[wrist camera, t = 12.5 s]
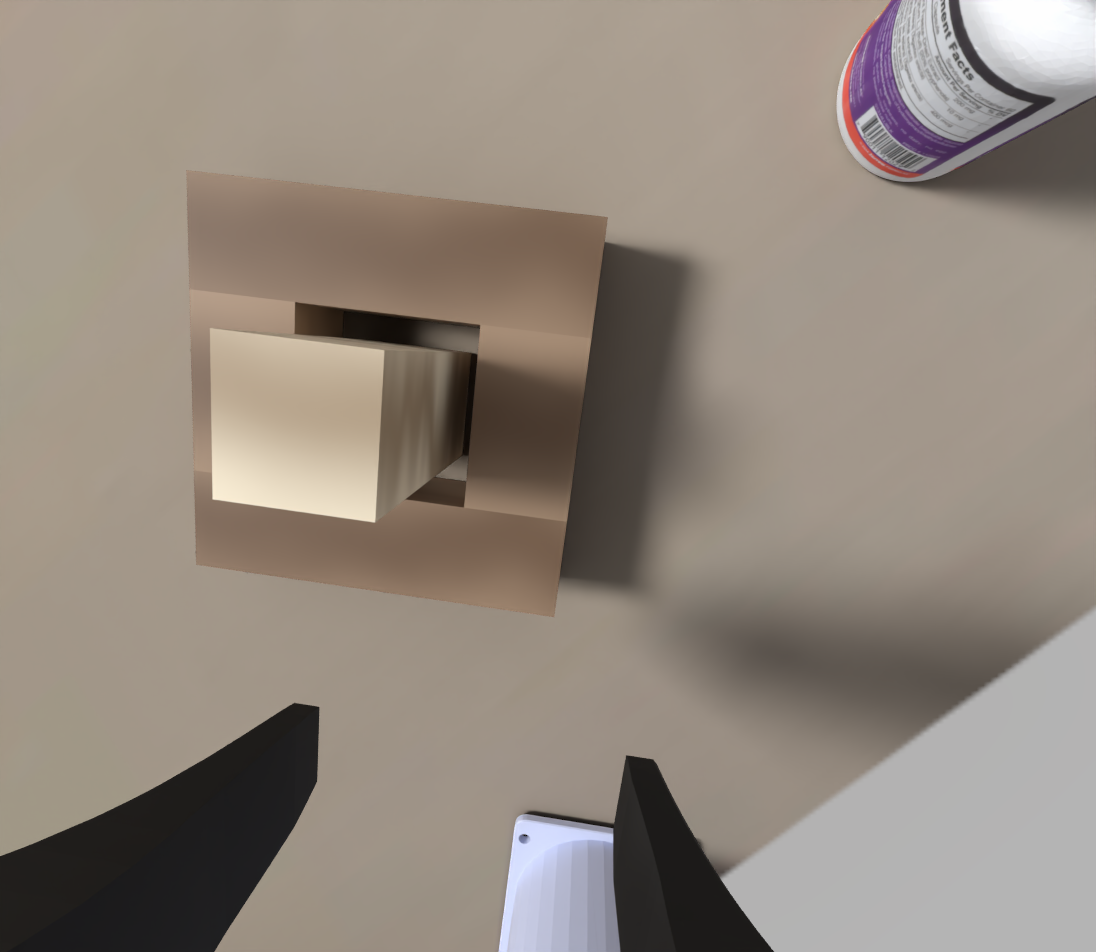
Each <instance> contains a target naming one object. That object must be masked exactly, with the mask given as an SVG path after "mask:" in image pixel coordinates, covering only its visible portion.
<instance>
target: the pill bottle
mask: <svg viewBox="0 0 1096 952" xmlns="http://www.w3.org/2000/svg"><path fill="white" fill-rule="evenodd" d="M1094 98H1096V0H891V1H890V3H889V4H888V5H887V6H886V7H885V9H884V10H883V11H882V12H881V13H880V14H879V16H878V17H877V18H876V19H875V20H874V21H873V22H872V24H871V25H870V26H869V28H868V29H867V30H866V32H865V33H864V34H863V35H862V37H861V38H860V39H859V41H858V42H857V44H856V45H855V47H854V49H853V50H852V52H851V54H850V56H849V58H848V60H847V62H846V64H845V67H844V69H843V72H842V75H841V79H840V83H839V87H838V93H837V118H838V124H839V129H840V132H841V135H842V138H843V140H844V142H845V144H846V146H847V148H848V150H849V151H850V153H851V154H852V155H853V157H854V158H855V159H856V160H857V161H858V162H859V163H860V164H861V165H862V166H863V167H864V168H865V169H867V170H868V171H870V172H872V173H873V174H875V175H878V176H880V177H882V178H886V179H889V180H894V181H902V182H915V181H924V180H928V179H932V178H935V177H938V176H941V175H943V174H946V173H948V172H950V171H953V170H955V169H958V168H960V167H962V166H964V165H966V164H968V163H970V162H972V161H974V160H976V159H977V158H980V157H981V156H983V155H985V154H987V153H989V152H991V151H993V150H995V149H997V148H999V147H1000V146H1002V145H1004V144H1006V143H1008V142H1010V141H1012V140H1014V139H1016V138H1018V137H1020V136H1022V135H1024V134H1025V133H1027V132H1029V131H1031V130H1033V129H1035V128H1037V127H1039V126H1041V125H1043V124H1045V123H1047V122H1049V121H1051V120H1053V119H1055V118H1056V117H1058V116H1060V115H1062V114H1064V113H1066V112H1068V111H1070V110H1072V109H1074V108H1076V107H1078V106H1080V105H1082V104H1084V103H1086V102H1088V101H1090V100H1092V99H1094Z"/></svg>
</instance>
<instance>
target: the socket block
mask: <svg viewBox="0 0 1096 952" xmlns="http://www.w3.org/2000/svg"><path fill="white" fill-rule="evenodd" d="M186 172H187V212H188V251H189V291H190V331H191V370H192V410H193V449H194V489H195V529H196V565H202V566H209V567H216V568H223V569H229V570H236V571H243V572H250V573H257V574H264V575H270V576H277V577H284V578H291V579H298V580H305V581H311V582H318V583H325V584H332V585H339V586H346V587H352V588H359V589H366V590H373V591H380V592H386V593H393V594H400V595H407V596H414V597H421V598H427V599H434V600H441V601H448V602H455V603H462V604H468V605H475V606H482V607H489V608H496V609H503V610H509V611H516V612H523V613H530V614H537V615H543V616H550V617H554V614H555V607H556V599H557V592H558V585H559V577H560V570H561V562H562V555H563V547H564V540H565V533H566V525H567V518H568V510H569V503H570V495H571V488H572V480H573V473H574V466H575V458H576V451H577V443H578V436H579V428H580V421H581V413H582V406H583V398H584V391H585V384H586V376H587V369H588V361H589V354H590V346H591V339H592V331H593V324H594V317H595V309H596V302H597V294H598V287H599V279H600V272H601V264H602V257H603V249H604V242H605V234H606V227H607V219H608V217H601V216H592V215H583V214H574V213H565V212H557V211H548V210H539V209H530V208H521V207H512V206H503V205H494V204H485V203H476V202H467V201H458V200H449V199H440V198H431V197H422V196H413V195H404V194H395V193H386V192H377V191H368V190H359V189H350V188H341V187H332V186H323V185H314V184H305V183H296V182H287V181H279V180H270V179H261V178H252V177H243V176H234V175H225V174H216V173H207V172H198V171H189V170H186ZM343 311H347V312H355V313H363V314H372V315H380V316H388V317H396V318H404V319H412V320H421V321H429V322H437V323H445V324H453V325H461V326H470V327H478V328H480V335H479V347H478V358H477V369H476V380H475V391H474V402H473V414H472V425H471V436H470V447H469V458H468V469H467V481H466V482H465V481H458V480H451V479H443V478H436V477H433V478H432V479H431V480H430V481H428V482H427V483H426V484H424V485H423V486H422V487H420V488H419V489H418V490H417V491H415V492H414V493H413V494H411V495H410V496H409V497H408V498H406V499H405V500H404V501H402V502H401V503H400V504H399V505H397V506H396V507H395V508H393V509H392V510H391V511H389V512H388V513H387V514H386V515H384V516H383V517H382V518H380V519H379V520H378V521H377V522H368V521H361V520H354V519H347V518H340V517H333V516H326V515H319V514H312V513H305V512H298V511H291V510H284V509H277V508H270V507H263V506H256V505H249V504H242V503H235V502H228V501H221V500H214V499H213V494H212V431H211V368H210V328H217V329H231V330H244V331H258V332H271V333H284V334H298V335H311V336H325V337H338V338H342V337H343Z"/></svg>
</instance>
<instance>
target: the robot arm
mask: <svg viewBox="0 0 1096 952" xmlns="http://www.w3.org/2000/svg"><path fill="white" fill-rule="evenodd" d="M318 734H319V707H316V706H310V705H303V704H297V703H294V704H292V705H290V706H288V707H287V708H285V709H284V710H282V711H280V712H279V713H277V714H276V715H274V716H272V717H271V718H269V719H268V720H266V721H265V722H263V723H262V724H260V725H258V726H257V727H255V728H254V729H252V730H251V731H249V732H248V733H246V734H244V735H243V736H241V737H240V738H238V739H236V740H235V741H233V742H232V743H230V744H228V745H227V746H225V747H224V748H222V749H220V750H219V751H217V752H216V753H214V754H212V755H211V756H209V757H207V758H206V759H204V760H202V761H201V762H199V763H197V764H195V765H194V766H192V767H190V768H188V769H187V770H185V771H183V772H181V773H180V774H178V775H176V776H174V777H173V778H171V779H169V780H167V781H166V782H164V783H162V784H161V785H159V786H157V787H155V788H153V789H151V790H149V791H147V792H145V793H144V794H142V795H140V796H138V797H136V798H134V799H132V800H130V801H128V802H126V803H124V804H122V805H120V806H118V807H115V808H113V809H111V810H109V811H107V812H105V813H103V814H101V815H99V816H97V817H95V818H92V819H90V820H88V821H85V822H83V823H81V824H78V825H76V826H74V827H71V828H69V829H67V830H64V831H62V832H60V833H57V834H55V835H53V836H50V837H48V838H46V839H43V840H41V841H39V842H36V843H34V844H31V845H29V846H26V847H24V848H21V849H19V850H16V851H13V852H11V853H8V854H5V855H3V856H0V952H214V951H215V950H216V948H217V946H218V945H219V943H220V941H221V940H222V938H223V936H224V935H225V933H226V931H227V930H228V928H229V927H230V925H231V924H232V922H233V921H234V919H235V918H236V916H237V915H238V913H239V912H240V910H241V908H242V907H243V905H244V904H245V902H246V901H247V899H248V898H249V896H250V895H251V893H252V892H253V890H254V889H255V887H256V885H257V884H258V882H259V881H260V879H261V878H262V876H263V875H264V873H265V872H266V870H267V869H268V867H269V866H270V864H271V862H272V861H273V859H274V858H275V856H276V855H277V853H278V852H279V850H280V848H281V847H282V845H283V844H284V842H285V841H286V839H287V838H288V836H289V834H290V833H291V831H292V830H293V828H294V826H295V824H296V822H297V821H298V819H299V817H300V815H301V813H302V811H303V809H304V807H305V805H306V803H307V801H308V799H309V797H310V795H311V793H312V791H313V789H314V787H315V784H316V782H317V767H318ZM522 834H526V835H528V836H523V835H522ZM499 952H774V951H773V950H772V949H771V947H770V946H769V945H768V944H767V942H766V941H765V940H764V939H763V937H762V936H761V935H760V934H759V932H758V931H757V930H756V928H755V927H754V926H753V924H752V923H751V922H750V920H749V919H748V918H747V916H746V915H745V914H744V912H743V911H742V910H741V908H740V907H739V905H738V904H737V903H736V901H735V900H734V898H733V897H732V895H731V894H730V893H729V891H728V890H727V888H726V887H725V885H724V884H723V882H722V881H721V879H720V877H719V876H718V874H717V873H716V871H715V870H714V868H713V867H712V865H711V864H710V862H709V860H708V859H707V857H706V855H705V854H704V852H703V851H702V849H701V847H700V846H699V844H698V842H697V840H696V839H695V837H694V835H693V833H692V832H691V830H690V828H689V827H688V825H687V823H686V821H685V819H684V818H683V816H682V814H681V812H680V810H679V808H678V806H677V805H676V803H675V801H674V799H673V797H672V795H671V793H670V791H669V789H668V787H667V785H666V783H665V781H664V779H663V777H662V774H661V772H660V770H659V768H658V766H657V764H656V763H655V761H654V760H653V759H646V758H640V757H634V756H627V755H626V760H625V766H624V772H623V777H622V783H621V788H620V794H619V800H618V805H617V811H616V817H615V822H614V828H608V827H602V826H596V825H590V824H584V823H578V822H572V821H566V820H560V819H553V818H547V817H541V816H535V815H529V814H523V815H520V816H519V817H518V818H517V819H516V822H515V829H514V837H513V845H512V852H511V860H510V868H509V876H508V884H507V891H506V899H505V907H504V915H503V922H502V930H501V938H500V946H499Z"/></svg>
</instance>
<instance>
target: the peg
mask: <svg viewBox="0 0 1096 952" xmlns="http://www.w3.org/2000/svg"><path fill="white" fill-rule="evenodd" d="M470 362H471V353H469V352H461V351H453V350H445V349H438V348H430V347H422V346H414V345H406V344H398V343H390V342H382V341H374V340H365V339H351V338H338V337H325V336H311V335H298V334H284V333H271V332H258V331H244V330H231V329H217V328H210V368H211V431H212V494H213V499H214V500H221V501H228V502H235V503H242V504H249V505H256V506H263V507H270V508H277V509H284V510H291V511H298V512H305V513H312V514H319V515H326V516H333V517H340V518H347V519H354V520H361V521H368V522H377V521H378V520H379V519H380V518H382V517H383V516H384V515H386V514H387V513H388V512H389V511H391V510H392V509H393V508H395V507H396V506H397V505H399V504H400V503H401V502H402V501H404V500H405V499H406V498H408V497H409V496H410V495H411V494H413V493H414V492H415V491H417V490H418V489H419V488H420V487H422V486H423V485H424V484H426V483H427V482H428V481H430V480H431V479H432V478H433V477H435V476H436V475H437V474H439V473H440V472H441V471H442V470H444V469H445V468H446V467H448V466H449V465H450V464H451V463H453V462H454V461H455V460H457V459H458V458H459V457H460V456H462V452H463V441H464V429H465V418H466V407H467V396H468V384H469V373H470Z"/></svg>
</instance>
